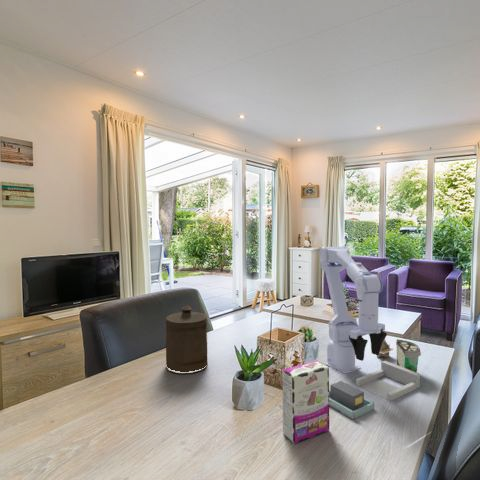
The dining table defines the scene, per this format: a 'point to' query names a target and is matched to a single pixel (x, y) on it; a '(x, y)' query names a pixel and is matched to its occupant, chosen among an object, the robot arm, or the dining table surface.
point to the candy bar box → (305, 401)
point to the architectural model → (384, 350)
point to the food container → (407, 354)
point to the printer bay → (385, 388)
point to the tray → (351, 414)
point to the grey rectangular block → (347, 395)
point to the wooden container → (186, 340)
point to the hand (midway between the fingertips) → (367, 356)
